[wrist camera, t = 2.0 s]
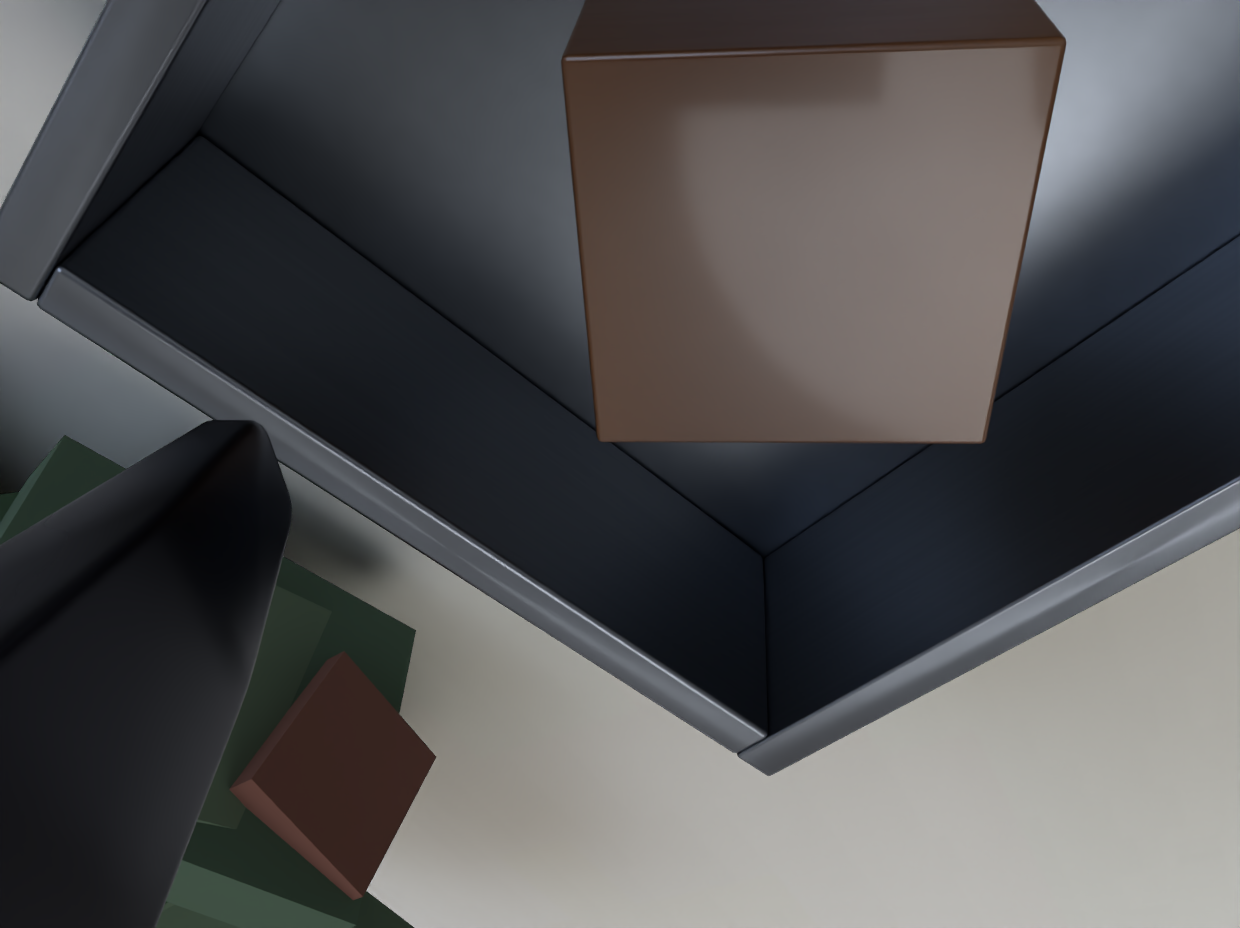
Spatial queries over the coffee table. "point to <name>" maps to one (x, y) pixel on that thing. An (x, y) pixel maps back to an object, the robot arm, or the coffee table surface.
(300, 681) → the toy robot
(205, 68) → the open box
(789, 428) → the cube
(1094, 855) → the coffee table surface
